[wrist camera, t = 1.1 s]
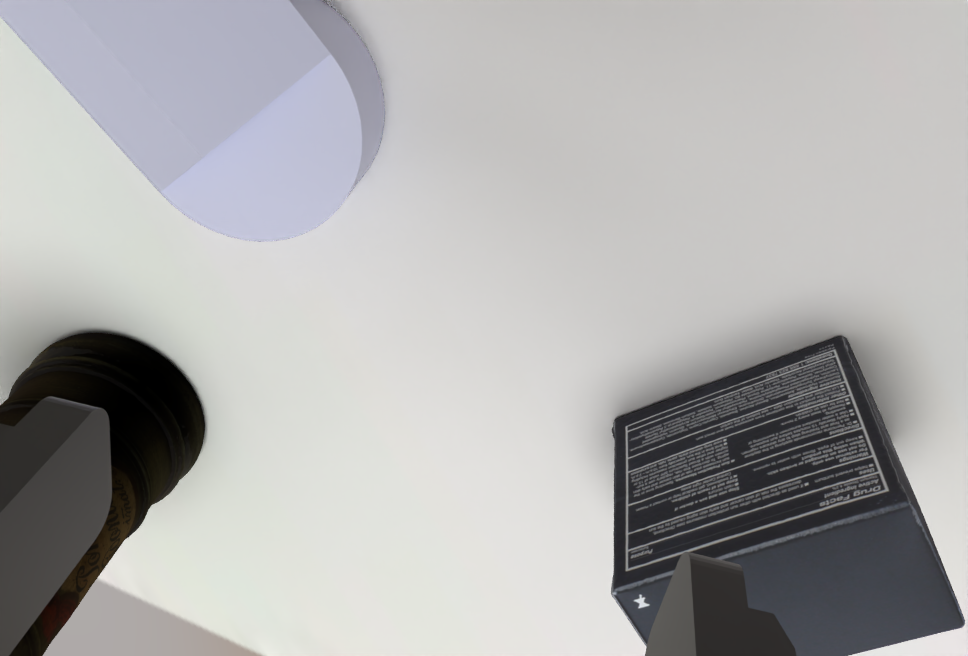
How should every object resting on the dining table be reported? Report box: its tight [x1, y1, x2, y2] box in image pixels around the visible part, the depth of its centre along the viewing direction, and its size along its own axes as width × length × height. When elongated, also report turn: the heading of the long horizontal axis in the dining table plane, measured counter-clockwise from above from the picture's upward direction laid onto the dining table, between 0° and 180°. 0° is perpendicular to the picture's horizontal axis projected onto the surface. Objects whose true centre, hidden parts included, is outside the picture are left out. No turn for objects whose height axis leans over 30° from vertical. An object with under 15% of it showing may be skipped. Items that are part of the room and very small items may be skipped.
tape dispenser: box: [0, 0, 385, 242], centre depth 32 cm, size 9×7×13 cm
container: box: [0, 333, 205, 656], centre depth 37 cm, size 9×9×18 cm
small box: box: [611, 336, 965, 656], centre depth 36 cm, size 11×6×10 cm, turn 120°
